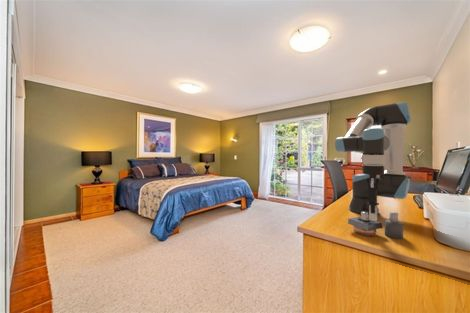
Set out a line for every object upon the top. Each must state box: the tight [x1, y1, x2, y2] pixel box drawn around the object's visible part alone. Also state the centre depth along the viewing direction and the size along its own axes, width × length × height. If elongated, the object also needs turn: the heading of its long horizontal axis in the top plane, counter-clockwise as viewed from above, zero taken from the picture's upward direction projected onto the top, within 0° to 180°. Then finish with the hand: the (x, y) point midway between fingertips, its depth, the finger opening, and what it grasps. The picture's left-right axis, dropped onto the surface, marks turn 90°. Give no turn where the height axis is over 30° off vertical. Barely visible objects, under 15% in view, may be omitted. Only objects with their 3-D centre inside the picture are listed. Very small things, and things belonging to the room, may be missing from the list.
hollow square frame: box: [347, 215, 383, 231], centre depth 85 cm, size 9×9×2 cm
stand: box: [384, 211, 404, 240], centre depth 82 cm, size 6×6×10 cm
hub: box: [352, 211, 377, 237], centre depth 85 cm, size 8×8×9 cm
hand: (373, 220), depth 82 cm, fingers closed
